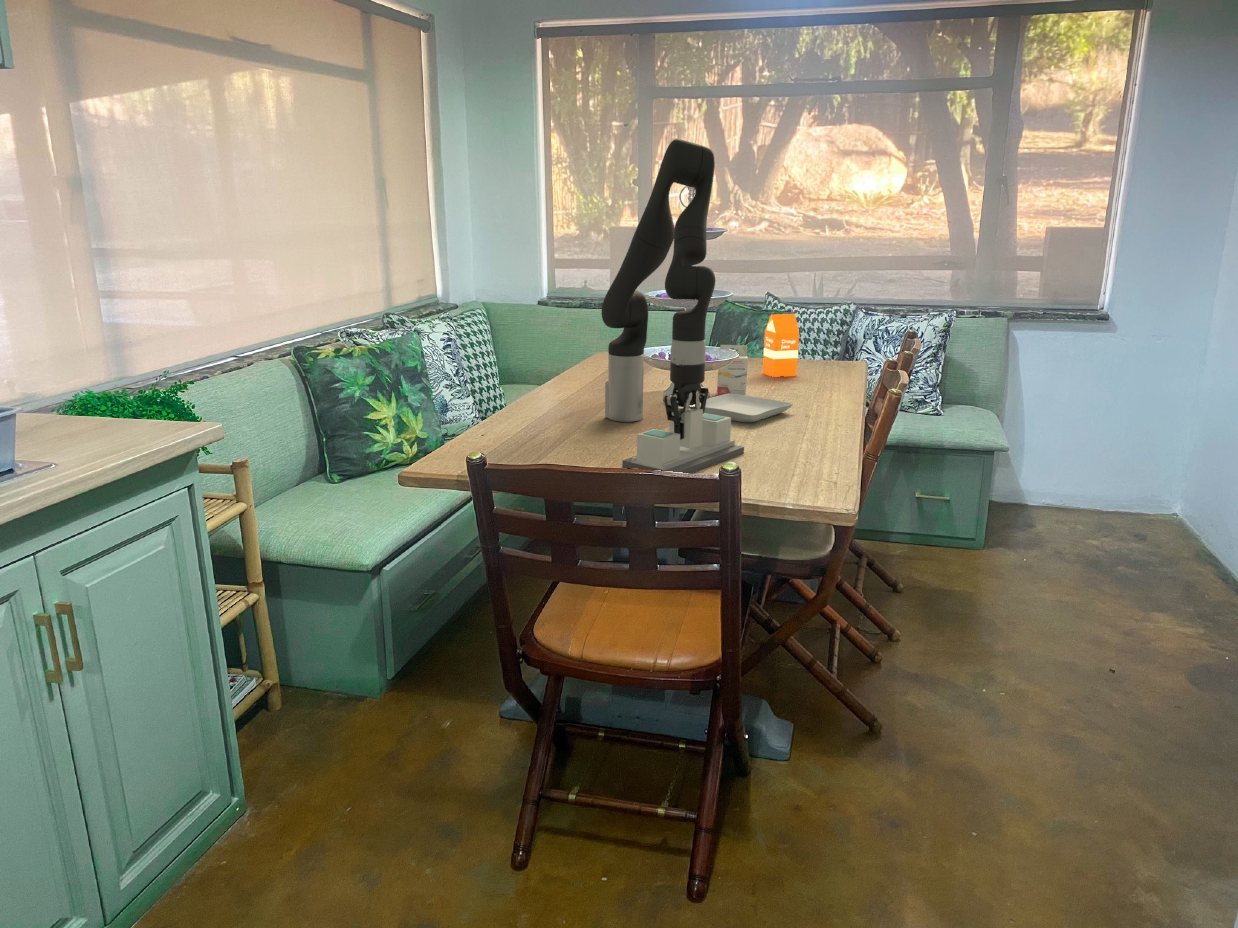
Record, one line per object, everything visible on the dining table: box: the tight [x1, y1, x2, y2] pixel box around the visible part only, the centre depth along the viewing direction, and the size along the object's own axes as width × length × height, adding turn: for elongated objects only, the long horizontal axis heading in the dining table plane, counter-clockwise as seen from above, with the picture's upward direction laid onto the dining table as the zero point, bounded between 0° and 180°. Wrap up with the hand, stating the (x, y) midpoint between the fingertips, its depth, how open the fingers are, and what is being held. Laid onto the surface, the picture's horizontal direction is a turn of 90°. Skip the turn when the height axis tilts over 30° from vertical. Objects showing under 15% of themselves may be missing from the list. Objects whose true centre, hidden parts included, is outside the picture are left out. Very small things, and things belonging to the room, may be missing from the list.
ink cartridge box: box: [716, 344, 749, 396], centre depth 266 cm, size 9×5×15 cm, turn 84°
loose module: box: [669, 406, 703, 449], centre depth 199 cm, size 6×4×8 cm
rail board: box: [621, 413, 745, 474], centre depth 200 cm, size 14×27×8 cm, turn 140°
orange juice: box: [762, 313, 800, 378], centre depth 298 cm, size 8×9×20 cm
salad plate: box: [700, 393, 793, 423], centre depth 244 cm, size 21×21×3 cm
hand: (685, 436), depth 199 cm, fingers closed on loose module, 4 cm apart
